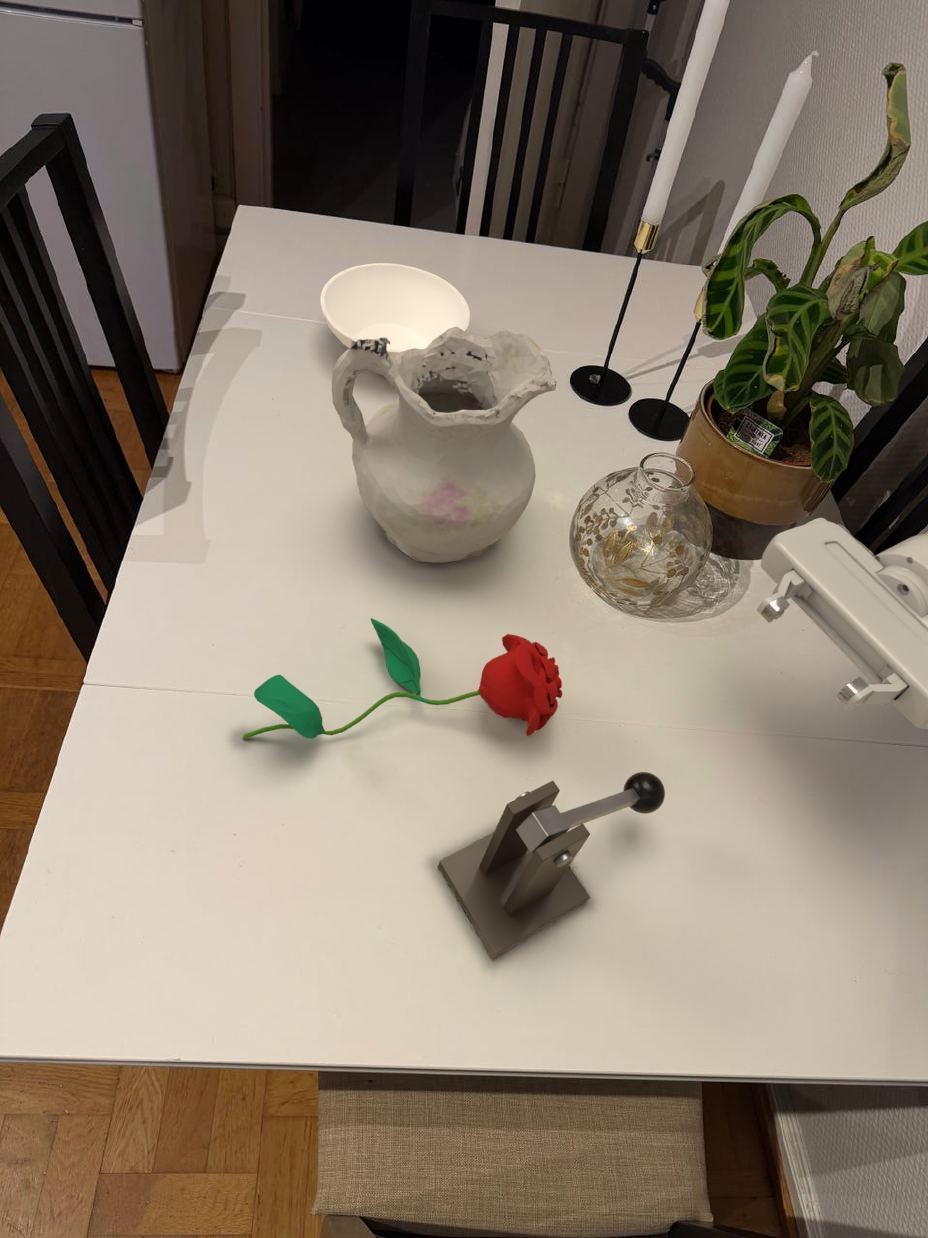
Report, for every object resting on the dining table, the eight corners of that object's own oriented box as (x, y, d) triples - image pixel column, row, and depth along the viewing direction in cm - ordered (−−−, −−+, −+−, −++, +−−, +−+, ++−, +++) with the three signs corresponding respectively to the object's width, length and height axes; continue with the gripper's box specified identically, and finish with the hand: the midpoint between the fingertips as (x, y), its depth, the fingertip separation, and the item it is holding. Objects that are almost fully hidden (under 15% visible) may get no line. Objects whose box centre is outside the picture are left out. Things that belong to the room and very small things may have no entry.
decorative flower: (249, 636, 87) (244, 574, 80) (535, 638, 93) (556, 580, 85) (241, 761, 79) (235, 705, 71) (556, 756, 84) (582, 703, 77)
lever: (631, 784, 80) (655, 760, 78) (655, 816, 78) (680, 793, 76) (506, 826, 68) (530, 799, 66) (531, 866, 66) (557, 840, 64)
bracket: (530, 816, 80) (567, 744, 69) (586, 902, 76) (635, 840, 65) (437, 866, 76) (461, 798, 65) (492, 959, 72) (527, 903, 61)
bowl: (358, 410, 110) (361, 365, 105) (295, 320, 119) (295, 275, 114) (488, 378, 118) (497, 335, 113) (420, 296, 127) (426, 253, 122)
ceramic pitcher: (351, 608, 93) (373, 445, 72) (310, 470, 102) (319, 291, 81) (535, 577, 100) (604, 419, 79) (481, 450, 109) (530, 280, 88)
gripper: (844, 490, 78) (734, 540, 73) (1028, 659, 69) (919, 732, 64) (812, 536, 83) (707, 586, 78) (980, 700, 74) (875, 770, 69)
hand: (804, 653), depth 71 cm, fingers open, 8 cm apart
